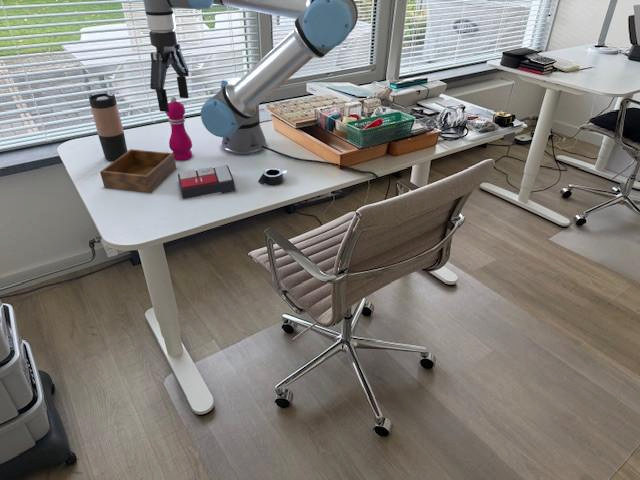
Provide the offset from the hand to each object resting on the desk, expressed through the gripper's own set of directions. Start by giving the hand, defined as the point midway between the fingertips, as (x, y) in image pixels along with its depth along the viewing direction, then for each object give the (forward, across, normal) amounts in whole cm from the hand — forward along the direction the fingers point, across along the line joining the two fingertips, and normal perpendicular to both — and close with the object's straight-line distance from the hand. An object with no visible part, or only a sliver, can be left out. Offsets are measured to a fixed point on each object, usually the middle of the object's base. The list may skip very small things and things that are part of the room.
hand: (174, 104), depth 143 cm
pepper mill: (+18, 0, 0) cm, 18 cm away
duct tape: (+18, +10, +34) cm, 40 cm away
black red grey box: (+18, +18, +16) cm, 30 cm away
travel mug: (+18, +5, -21) cm, 28 cm away
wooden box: (+18, +17, -6) cm, 25 cm away
